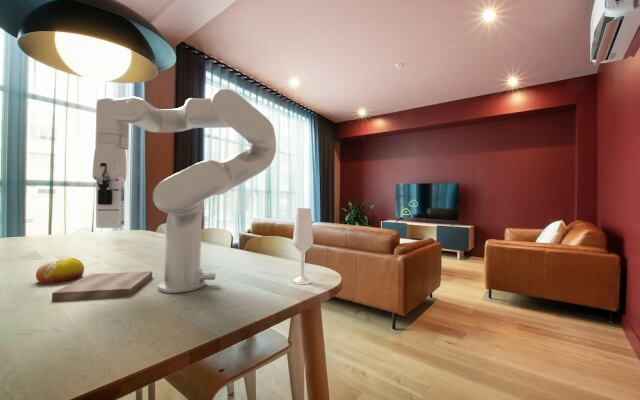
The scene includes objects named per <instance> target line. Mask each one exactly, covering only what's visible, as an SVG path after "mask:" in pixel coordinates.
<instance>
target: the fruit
mask: <svg viewBox="0 0 640 400" xmlns="http://www.w3.org/2000/svg"><path fill="white" fill-rule="evenodd" d="M84 272H85V266H84V264H83V262H82V261H81V260H79V259H78V258H74V257H68V258H61V259H57V260H53V261H50V262H46V263H43V264H42V265H41V266H40V267H38V269H37V271H36V272H35V278H36V280H37V281H38V282H39V283H40V284H42V285H43V284H44V285H50V284H51V285H53V284H55V285H56V284H63V283H66V282H67V283H68V282H72V281H77V280H80V279H81V278H82V276H83V274H84Z"/></svg>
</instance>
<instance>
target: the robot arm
mask: <svg viewBox="0 0 640 400" xmlns="http://www.w3.org/2000/svg"><path fill="white" fill-rule="evenodd" d="M95 112H96V116H95V117H96V119H95V121H96V123H95V150H94V154H93V162H92V179H94V180H95V181H96V180H97V184H98V187H97V189H98V204H99V205H111V204H112V191H113V190H111V187H112V182H113V181H115V180H116V178H117V177H121V178H123V179H124V183H125V182H126V180H127V150H129V136H130V135H129V133H130V132H129V131H130V130H129V129H130V125H133V126H136V127H138V128H140V129H142V130H145V131H147V132H150V133H179V132H184V131H189V130H192V129H199V128H200V129H201V128H202V129H205V128H206V129H207V128H208V129H209V128H211V129H212V128H213V129H214V128H216V129H217V128H221V129H223V128H232V129H233V130H234V131H235V132H237V133H238V134H239V135H240V136H241V137H242V138H243V139H245V140H246V142H247V143H248V144H249V146H248V147H247V149H245V150H242V151H240V152H238V153H236V154H233V155H232V156H229V157H228V158H226V159H224V160H222V161H218V160H213V159H206V160H202V161H200V162H196V163H194V164H192V165H191V166H188V167H187V168H185V169H181V170H180V171H179V172H176V173H174V174H172V175H171V176H168V177H167V178H164V179H163V180H161V181H160V182H158V183H157V185H156V186H155V188H154V190H153V191H152V202H153V203H154V205H155V206H156V208H157V209H158V210H159V211H162V212H163V213H166V214H167V218H166V224H165V239H164V240H165V243H164V244H165V245H164V246H165V247H164V249H165V250H164V281H161V282H160V283H159V284H158V285H157V289H158V291H159V292H162V293H167V294H169V293H170V294H179V293H186V292H192V291H196V290H199V289H201V288H203V287H204V286H206V280H207V281H208V280H209V281H215V280H216V272H212V271H210V272H209V271H208V272H205V271H203V268H202V267H201V258H202V256H201V253H202V252H201V248H202V228H203V227H202V223H203V222H202V221H203V214H204V207H205V200H206V199H208V198H210V197H212V196H220V195H224V194H226V193H227V192H229V191H231V190H232V189H234V188H235V187H237V186H239V185H241V184H243V183H245V182H247V181H248V180H250V179H253V178H254V177H256V176H257V175H259V174H261V173H262V172H263V171H265V170H267V169H268V167H270V166H271V164H272V162H274V159H275V157H276V151H277V139H276V133H275V128H274V125H273V123H272V122H271V121H270V119H268V118H267V117H266V115H264V114H263V113H262V112H260V111H259V110H258V109H257V108H255V107H254V106H253V105H252V104H251V103H250V102H249V101H247V100H246V99H245V98H244V97H243V96H241V95H240V93H238V92H237V91H235V90H232V89H230V88H222V89H219V90H217V91H215V92H214V93H213V94H212V96H211V97H210V98H208V97H207V98H198V97H197V98H195V97H194V98H193V97H190V98H188V99H186V100H185V102H184V104H183V106H181V107H178V108H169V109H168V108H167V109H166V108H164V109H163V108H156V107H155V106H153V105H152V104H150V103H149V102H147V101H146V100H145V99H143V98H140V97H137V96H129V97H121V98H120V97H119V98H115V97H108V96H107V97H106V96H104V97H103V96H101V97H99V98H98V99H97V101H96V111H95ZM104 177H105V178H110V179H104ZM107 182H108V184H107Z"/></svg>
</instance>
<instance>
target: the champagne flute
mask: <svg viewBox="0 0 640 400" xmlns="http://www.w3.org/2000/svg"><path fill="white" fill-rule="evenodd" d="M293 226H294V227H293V234H292V235H293V237H292V244H293V246H294V247H295V249H297V251H299V253H300V269H299V270H300V272H299V273H300V274H299V276H298V277H297V278H294V279H293V280H294V281H296V282H307V281H309V280H310V279H309V278H308V277H306V276H305V253H306V252H307V251H308V250H309V249H310V248H311V247H312V246H313V244H314V234H313V233H314V232H313V220H312V208H309V207H308V208H307V207H306V208H304V207H301V208H300V207H298V208H297V207H296V210H295V217H294V225H293Z"/></svg>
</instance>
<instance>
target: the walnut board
mask: <svg viewBox="0 0 640 400" xmlns="http://www.w3.org/2000/svg"><path fill="white" fill-rule="evenodd" d="M152 278H153V271H134V272H133V271H129V272H128V271H127V272H109V273H107V272H106V273H89V274H88V275H86V276H84V277H81V278H79V279H77V280H75V281H74V282H72V283H69V284H67V285H65V286H63V287H61V288H59V289H57V290H55V291H53V292H52V293H51V301H52V302H53V301H54V302H58V301H70V300H71V301H72V300H88V299H89V300H90V299H91V300H92V299H104V298H121V297H122V298H123V297H131V296H133V294H135V292H137V291H138V290H139V289H141V288H142V287H143V286H144V285H145V284H146V283H147V282H149V281H150V280H151V279H152Z"/></svg>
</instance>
